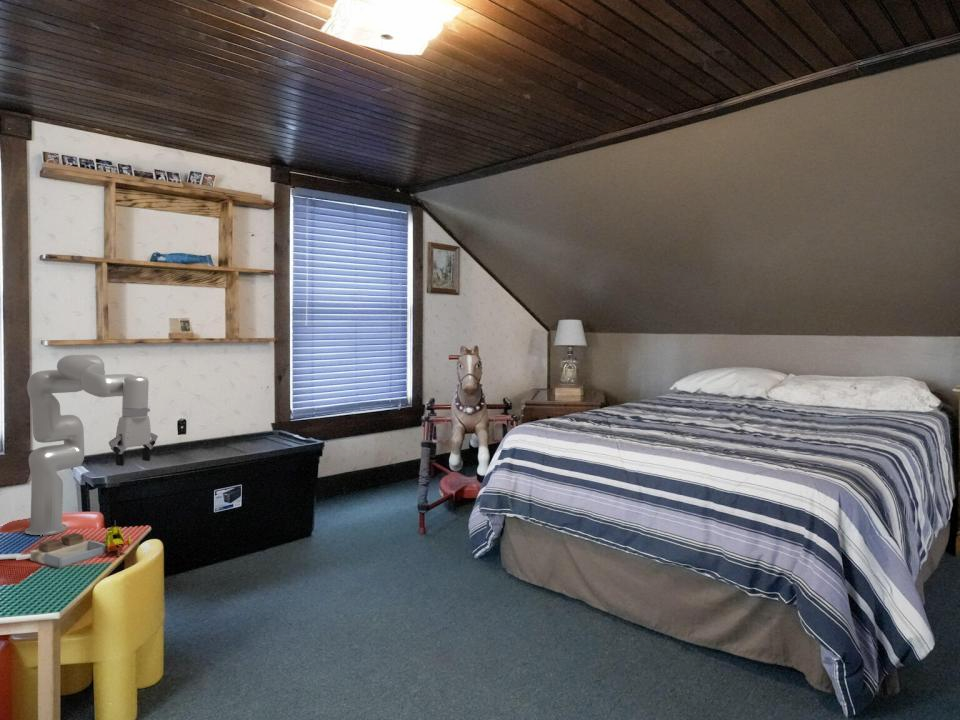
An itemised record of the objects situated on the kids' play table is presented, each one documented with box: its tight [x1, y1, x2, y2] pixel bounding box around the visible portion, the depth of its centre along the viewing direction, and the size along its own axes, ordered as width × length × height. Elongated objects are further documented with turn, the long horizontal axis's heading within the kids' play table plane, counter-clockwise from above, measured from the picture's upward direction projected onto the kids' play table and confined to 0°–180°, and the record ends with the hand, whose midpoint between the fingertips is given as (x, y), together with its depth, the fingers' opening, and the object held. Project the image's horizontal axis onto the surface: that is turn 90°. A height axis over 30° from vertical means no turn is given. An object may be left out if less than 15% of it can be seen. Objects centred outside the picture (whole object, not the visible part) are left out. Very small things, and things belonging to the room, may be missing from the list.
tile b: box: [38, 538, 62, 553], centre depth 199 cm, size 4×4×2 cm
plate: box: [30, 539, 89, 565], centre depth 202 cm, size 7×15×3 cm, turn 157°
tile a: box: [60, 532, 84, 546], centre depth 206 cm, size 4×4×2 cm
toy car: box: [104, 520, 131, 556], centre depth 210 cm, size 6×18×10 cm, turn 40°
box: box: [43, 539, 106, 570], centre depth 200 cm, size 8×15×4 cm, turn 157°
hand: (133, 462), depth 206 cm, fingers open, 9 cm apart
